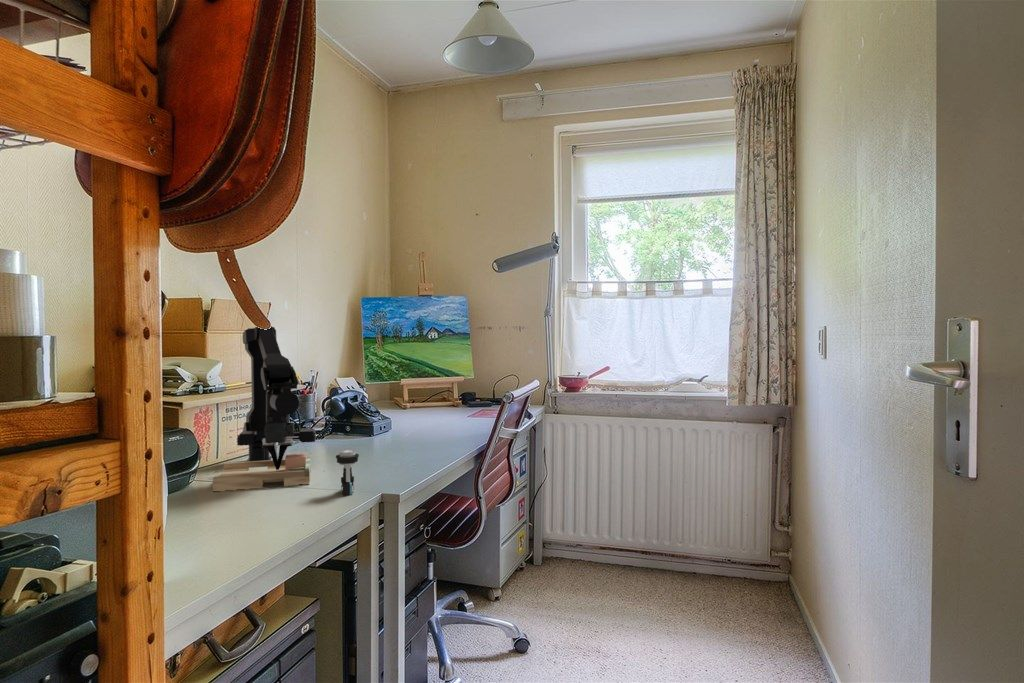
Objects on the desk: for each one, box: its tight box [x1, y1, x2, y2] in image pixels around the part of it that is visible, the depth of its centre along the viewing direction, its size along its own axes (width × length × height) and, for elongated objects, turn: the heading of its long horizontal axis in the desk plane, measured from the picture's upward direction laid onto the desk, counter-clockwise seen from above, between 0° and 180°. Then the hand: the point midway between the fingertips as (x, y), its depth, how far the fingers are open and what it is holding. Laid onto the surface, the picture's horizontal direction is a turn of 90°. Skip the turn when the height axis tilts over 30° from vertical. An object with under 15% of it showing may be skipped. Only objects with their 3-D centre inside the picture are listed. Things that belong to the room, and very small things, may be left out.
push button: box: [335, 449, 360, 496], centre depth 140 cm, size 7×5×10 cm
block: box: [284, 452, 307, 471], centre depth 153 cm, size 5×5×4 cm
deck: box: [212, 455, 312, 492], centre depth 151 cm, size 16×22×4 cm
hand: (277, 469), depth 151 cm, fingers closed
